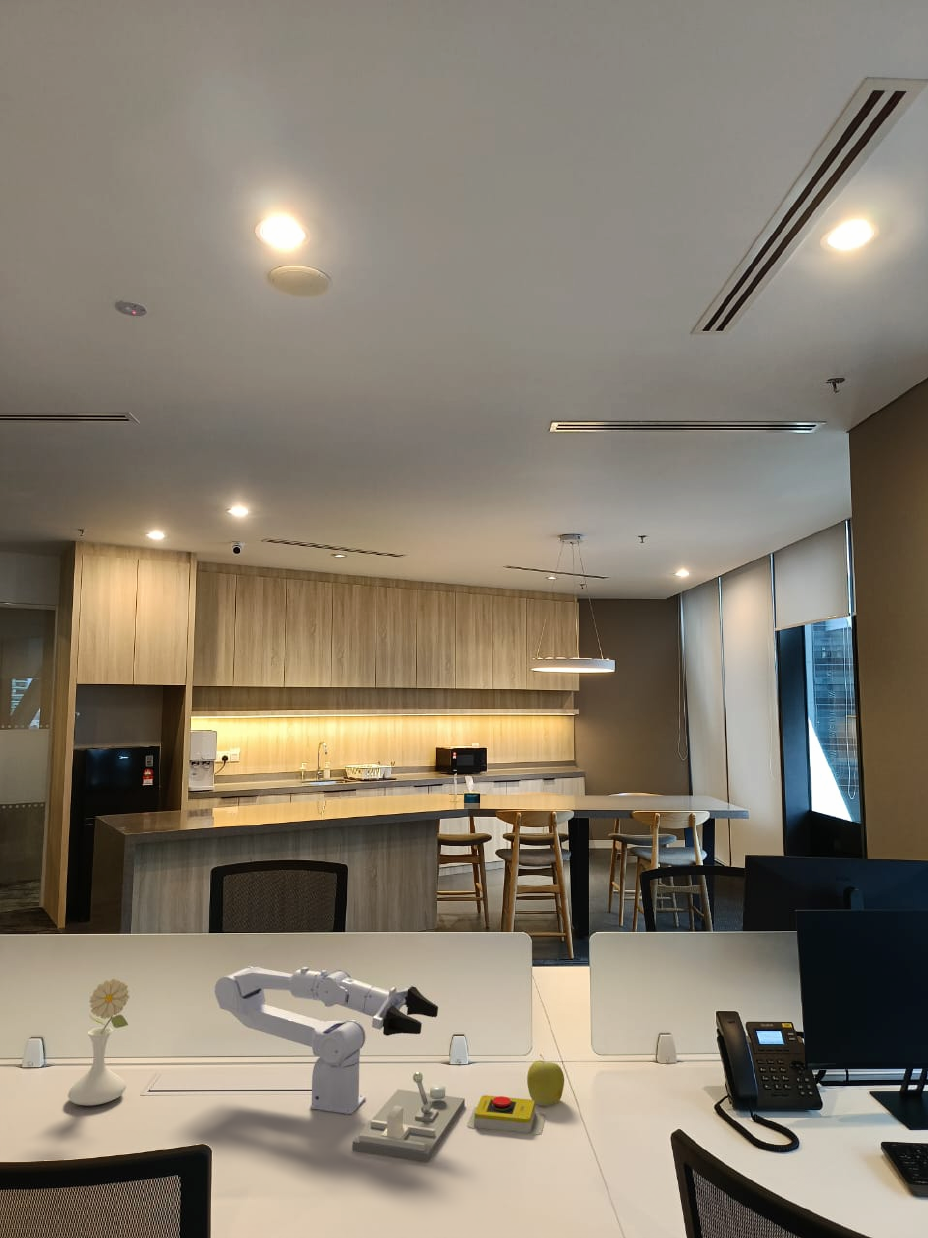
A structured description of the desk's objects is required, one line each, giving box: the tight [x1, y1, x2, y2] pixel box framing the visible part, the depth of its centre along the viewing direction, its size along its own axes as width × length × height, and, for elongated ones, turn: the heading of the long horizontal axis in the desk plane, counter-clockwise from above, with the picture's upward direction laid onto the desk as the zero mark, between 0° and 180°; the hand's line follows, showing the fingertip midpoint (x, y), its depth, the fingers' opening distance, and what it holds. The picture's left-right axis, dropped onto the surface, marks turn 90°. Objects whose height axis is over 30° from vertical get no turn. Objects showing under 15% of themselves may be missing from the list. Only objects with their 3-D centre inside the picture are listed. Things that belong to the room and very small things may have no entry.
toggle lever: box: [412, 1071, 433, 1114], centre depth 173 cm, size 2×2×8 cm
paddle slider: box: [381, 1106, 409, 1140], centre depth 164 cm, size 4×4×5 cm
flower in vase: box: [67, 978, 130, 1106], centre depth 184 cm, size 13×11×25 cm
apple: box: [526, 1054, 565, 1107], centre depth 183 cm, size 8×8×10 cm
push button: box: [429, 1084, 446, 1099], centre depth 179 cm, size 3×3×2 cm
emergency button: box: [466, 1094, 546, 1136], centre depth 174 cm, size 9×4×15 cm
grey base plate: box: [351, 1088, 466, 1163], centre depth 171 cm, size 15×24×2 cm, turn 164°
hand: (429, 1020), depth 175 cm, fingers open, 7 cm apart
